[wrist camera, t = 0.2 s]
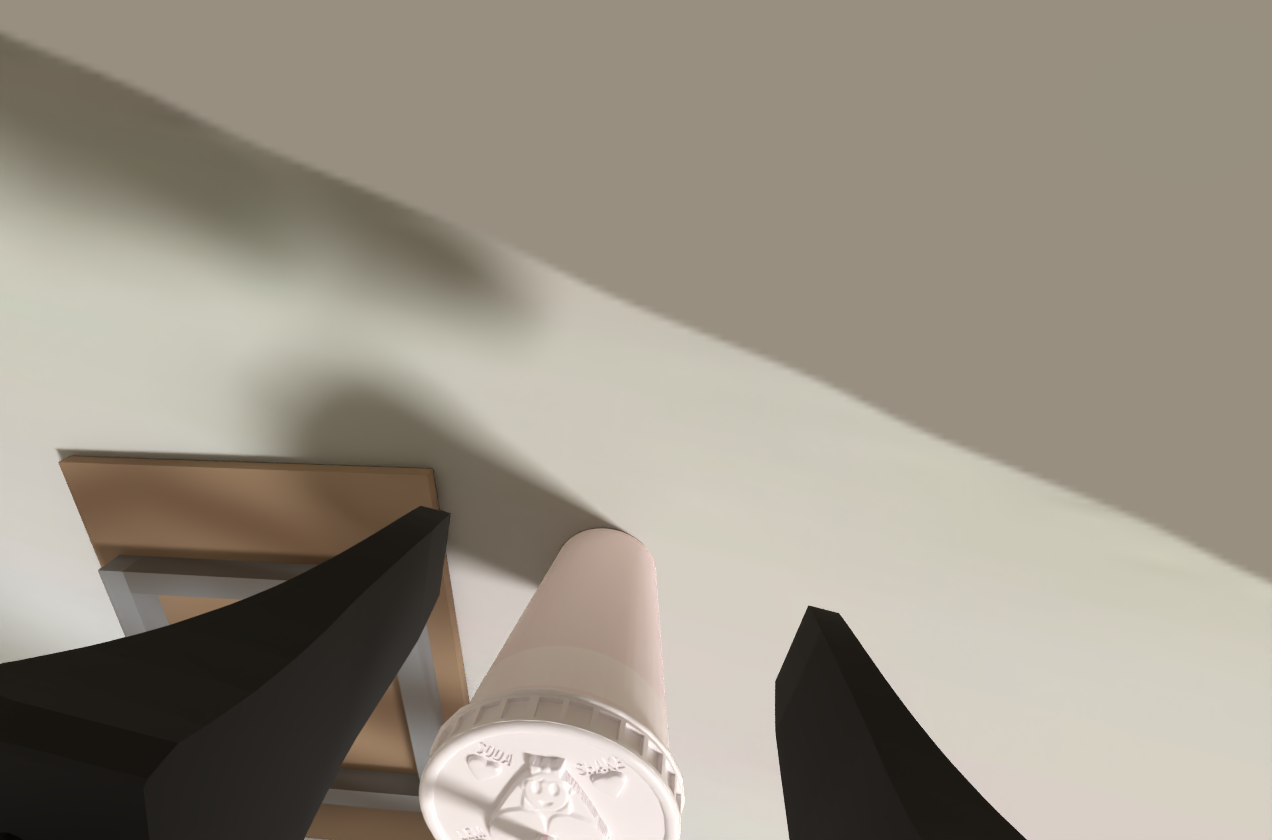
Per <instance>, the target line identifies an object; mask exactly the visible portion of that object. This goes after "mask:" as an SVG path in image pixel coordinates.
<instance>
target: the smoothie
mask: <svg viewBox="0 0 1272 840" xmlns="http://www.w3.org/2000/svg"><path fill="white" fill-rule="evenodd" d="M419 802H420V807H421V811H422V814H423V817H424V820H425V822H426V824H427V826H428V828H429V830H430V831H431V833H432V835H433V836H434V838H435V839H436V840H679V839H680V832H681V814H682V810H683V807H684V803H685V798H684V787H683V777H682V775H681V773H680V771H679V768H678V766H677V764H676V762H675V760H674V758H673V756H672V754H671V752H670V751H669V739H668V723H667V715H666V701H665V688H664V674H663V660H662V647H661V633H660V619H659V606H658V592H657V578H656V567H655V563H654V561H653V558H652V556H651V554H650V553H649V551H648V550H647V549H646V547H645V546H644V545H643V544H642V543H640V542H639V541H638V540H637V539H635V538H634V537H632V536H630V535H628V534H626V533H624V532H621V531H618V530H613V529H606V528H597V529H590V530H586V531H583V532H580V533H578V534H576V535H574V536H573V537H571V538H570V539H569V540H568V541H567V542H566V543H565V544H564V545H563V547H562V548H561V550H560V552H559V553H558V555H557V557H556V558H555V560H554V562H553V563H552V565H551V567H550V568H549V570H548V572H547V573H546V575H545V577H544V579H543V580H542V582H541V584H540V585H539V587H538V589H537V590H536V592H535V594H534V595H533V597H532V599H531V601H530V602H529V604H528V606H527V607H526V609H525V611H524V612H523V614H522V616H521V617H520V619H519V621H518V622H517V624H516V626H515V628H514V629H513V631H512V633H511V634H510V636H509V638H508V639H507V641H506V643H505V644H504V646H503V648H502V649H501V651H500V653H499V655H498V656H497V658H496V660H495V661H494V663H493V665H492V666H491V668H490V670H489V671H488V673H487V675H486V676H485V677H484V679H483V681H482V682H481V684H480V686H479V688H478V689H477V691H476V693H475V695H474V697H473V698H472V700H471V702H470V703H469V704H467V705H465V706H463V707H461V708H460V709H459V710H458V711H457V712H456V713H455V714H453V715H452V716H451V717H450V718H449V719H448V720H447V721H446V722H445V723H444V724H443V725H442V726H441V728H440V730H439V732H438V734H437V736H436V738H435V740H434V742H433V745H432V747H431V749H430V757H429V760H428V762H427V764H426V766H425V768H424V771H423V773H422V776H421V780H420V785H419Z"/></svg>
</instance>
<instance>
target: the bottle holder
mask: <svg viewBox="0 0 1272 840" xmlns="http://www.w3.org/2000/svg"><path fill="white" fill-rule="evenodd" d="M59 465H60V467H61V470H62V472H63V475H64V477H65V479H66V482H67V484H68V487H69V489H70V492H71V494H72V496H73V499H74V501H75V504H76V506H77V509H78V511H79V514H80V516H81V518H82V521H83V523H84V526H85V528H86V531H87V533H88V535H89V538H90V540H91V543H92V545H93V548H94V550H95V553H96V555H97V557H98V560H99V562H100V565H101V567H102V568H100V569H99V570H98V572H99V574H100V577H101V579H102V581H103V584H104V586H105V589H106V591H107V594H108V596H109V598H110V601H111V603H112V606H113V608H114V610H115V613H116V615H117V618H118V620H119V623H120V625H121V627H122V630H123V632H124V635H125V637H128V636H132V635H136V634H140V633H143V632H147V631H150V630H154V629H157V628H161V627H164V626H168V625H171V624H174V623H177V622H180V621H183V620H186V619H189V618H192V617H195V616H198V615H201V614H204V613H207V612H210V611H212V610H215V609H218V608H221V607H224V606H227V605H230V604H233V603H235V602H238V601H240V600H243V599H245V598H248V597H250V596H253V595H255V594H258V593H260V592H262V591H265V590H267V589H270V588H272V587H274V586H276V585H279V584H281V583H283V582H285V581H287V580H290V579H292V578H294V577H296V576H298V575H300V574H302V573H304V572H306V571H307V570H309V569H311V568H313V567H315V566H317V565H319V564H321V563H323V562H325V561H327V560H329V559H331V558H333V557H334V556H336V555H338V554H340V553H341V552H343V551H345V550H347V549H348V548H350V547H352V546H354V545H355V544H357V543H359V542H361V541H362V540H364V539H366V538H367V537H369V536H371V535H372V534H374V533H376V532H377V531H379V530H381V529H382V528H384V527H386V526H387V525H389V524H390V523H392V522H394V521H395V520H397V519H399V518H400V517H402V516H403V515H405V514H407V513H408V512H410V511H412V510H414V509H415V508H417V507H419V506H424V507H428V508H432V509H436V510H439V505H438V499H437V493H436V486H435V480H434V474H433V469H425V468H397V467H369V466H340V465H312V464H283V463H255V462H227V461H198V460H170V459H142V458H113V457H85V456H69V457H67V458H66V459H64V460H62V461H60V462H59ZM467 704H469V696H468V690H467V683H466V677H465V671H464V664H463V658H462V652H461V645H460V639H459V633H458V626H457V620H456V613H455V607H454V601H453V594H452V588H451V582H450V575H449V569H448V563H447V556H446V551H445V558H444V566H443V573H442V580H441V588H440V595H439V597H438V599H437V602H436V604H435V606H434V608H433V610H432V612H431V615H430V617H429V619H428V621H427V623H426V625H425V627H424V629H423V631H422V633H421V636H420V638H419V640H418V641H417V643H416V645H415V646H414V648H413V649H412V651H411V653H410V654H409V656H408V657H407V659H406V661H405V662H404V664H403V665H402V667H401V669H400V670H399V672H398V673H397V675H396V677H395V678H394V680H393V681H392V683H391V684H390V686H389V688H388V689H387V691H386V692H385V694H384V695H383V697H382V699H381V700H380V702H379V703H378V705H377V706H376V708H375V710H374V711H373V713H372V714H371V716H370V717H369V719H368V721H367V722H366V724H365V725H364V727H363V729H362V730H361V732H360V733H359V735H358V736H357V738H356V740H355V741H354V743H353V745H352V747H351V748H350V750H349V752H348V754H347V755H346V757H345V759H344V760H343V762H342V764H341V766H340V768H339V770H338V772H337V774H336V776H335V778H334V780H333V782H332V784H331V786H330V788H329V790H328V792H327V794H326V796H325V798H324V800H323V802H322V804H321V806H320V808H319V810H318V812H317V814H316V816H315V818H314V820H313V822H312V824H311V826H310V828H309V830H308V832H307V834H306V836H305V837H308V838H319V839H329V840H436V839H435V838H434V836H433V835H432V833H431V831H430V830H429V828H428V826H427V824H426V822H425V820H424V817H423V814H422V811H421V807H420V802H419V785H420V780H421V776H422V773H423V771H424V768H425V766H426V764H427V762H428V760H429V757H430V749H431V747H432V745H433V742H434V740H435V738H436V736H437V734H438V732H439V730H440V728H441V726H442V725H443V724H444V723H445V722H446V721H447V720H448V719H449V718H450V717H451V716H452V715H453V714H455V713H456V712H457V711H458V710H459V709H460V708H461V707H463V706H465V705H467Z"/></svg>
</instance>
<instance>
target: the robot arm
mask: <svg viewBox="0 0 1272 840" xmlns="http://www.w3.org/2000/svg"><path fill="white" fill-rule="evenodd" d="M450 514H451V513H447V512H443V511H440V510H436V509H432V508H428V507H424V506H419V507H417V508H415V509H414V510H412V511H410V512H408V513H407V514H405V515H403V516H402V517H400V518H399V519H397V520H395V521H394V522H392V523H390V524H389V525H387V526H386V527H384V528H382V529H381V530H379V531H377V532H376V533H374V534H372V535H371V536H369V537H367V538H366V539H364V540H362V541H361V542H359V543H357V544H355V545H354V546H352V547H350V548H348V549H347V550H345V551H343V552H341V553H340V554H338V555H336V556H334V557H333V558H331V559H329V560H327V561H325V562H323V563H321V564H319V565H317V566H315V567H313V568H311V569H309V570H307V571H306V572H304V573H302V574H300V575H298V576H296V577H294V578H292V579H290V580H287V581H285V582H283V583H281V584H279V585H276V586H274V587H272V588H270V589H267V590H265V591H262V592H260V593H258V594H255V595H253V596H250V597H248V598H245V599H243V600H240V601H238V602H235V603H233V604H230V605H227V606H224V607H221V608H218V609H215V610H212V611H210V612H207V613H204V614H201V615H198V616H195V617H192V618H189V619H186V620H183V621H180V622H177V623H174V624H171V625H168V626H164V627H161V628H157V629H154V630H150V631H147V632H143V633H140V634H136V635H132V636H128V637H124V638H120V639H116V640H113V641H109V642H105V643H100V644H96V645H92V646H88V647H83V648H78V649H73V650H68V651H63V652H59V653H54V654H49V655H44V656H39V657H34V658H29V659H24V660H19V661H13V662H7V663H2V664H0V840H304V838H305V836H306V834H307V832H308V830H309V828H310V826H311V824H312V822H313V820H314V818H315V816H316V814H317V812H318V810H319V808H320V806H321V804H322V802H323V800H324V798H325V796H326V794H327V792H328V790H329V788H330V786H331V784H332V782H333V780H334V778H335V776H336V774H337V772H338V770H339V768H340V766H341V764H342V762H343V760H344V759H345V757H346V755H347V754H348V752H349V750H350V748H351V747H352V745H353V743H354V741H355V740H356V738H357V736H358V735H359V733H360V732H361V730H362V729H363V727H364V725H365V724H366V722H367V721H368V719H369V717H370V716H371V714H372V713H373V711H374V710H375V708H376V706H377V705H378V703H379V702H380V700H381V699H382V697H383V695H384V694H385V692H386V691H387V689H388V688H389V686H390V684H391V683H392V681H393V680H394V678H395V677H396V675H397V673H398V672H399V670H400V669H401V667H402V665H403V664H404V662H405V661H406V659H407V657H408V656H409V654H410V653H411V651H412V649H413V648H414V646H415V645H416V643H417V641H418V640H419V638H420V636H421V633H422V631H423V629H424V627H425V625H426V623H427V621H428V619H429V617H430V615H431V612H432V610H433V608H434V606H435V604H436V602H437V599H438V597H439V595H440V588H441V580H442V573H443V566H444V558H445V551H446V544H447V536H448V529H449V522H450ZM775 731H776V740H777V749H778V756H779V764H780V772H781V780H782V787H783V794H784V802H785V809H786V817H787V824H788V831H789V839H790V840H1026V839H1025V838H1024V837H1023V836H1022V835H1021V834H1020V833H1019V832H1018V831H1017V830H1016V829H1015V828H1014V827H1013V826H1012V825H1011V824H1010V823H1009V822H1008V821H1007V820H1005V819H1004V818H1003V817H1002V816H1001V815H1000V814H999V813H998V812H997V811H996V810H995V809H994V808H993V807H992V806H991V805H990V804H989V803H988V802H987V801H986V800H985V799H984V798H983V797H982V795H981V794H980V793H979V792H978V791H977V790H976V789H975V788H974V787H973V786H972V785H971V784H970V783H969V781H968V780H967V779H966V778H965V777H964V776H963V775H962V774H961V773H960V772H959V771H958V770H957V768H956V767H955V766H954V765H953V764H952V763H951V762H950V761H949V759H948V758H947V757H946V756H945V755H944V754H943V753H942V751H941V750H940V749H939V748H938V747H937V745H936V744H935V743H934V742H933V740H932V739H931V738H930V737H929V736H928V734H927V733H926V732H925V731H924V729H923V728H922V727H921V726H920V724H919V723H918V722H917V721H916V719H915V718H914V717H913V716H912V714H911V713H910V712H909V710H908V709H907V708H906V706H905V705H904V704H903V703H902V701H901V700H900V698H899V697H898V696H897V694H896V693H895V692H894V690H893V689H892V688H891V686H890V685H889V683H888V682H887V681H886V679H885V678H884V677H883V675H882V674H881V672H880V671H879V669H878V668H877V667H876V665H875V664H874V662H873V661H872V659H871V658H870V657H869V655H868V654H867V652H866V651H865V649H864V648H863V647H862V645H861V644H860V642H859V641H858V639H857V638H856V636H855V635H854V634H853V632H852V631H851V629H850V628H849V626H848V625H847V624H846V622H845V621H844V619H843V618H842V617H841V615H840V614H839V613H836V612H832V611H828V610H824V609H820V608H816V607H812V606H808V608H807V610H806V612H805V615H804V617H803V619H802V622H801V624H800V626H799V628H798V631H797V633H796V635H795V638H794V640H793V642H792V645H791V647H790V649H789V651H788V654H787V656H786V658H785V661H784V663H783V665H782V668H781V670H780V672H779V674H778V677H777V679H776V681H775Z"/></svg>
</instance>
